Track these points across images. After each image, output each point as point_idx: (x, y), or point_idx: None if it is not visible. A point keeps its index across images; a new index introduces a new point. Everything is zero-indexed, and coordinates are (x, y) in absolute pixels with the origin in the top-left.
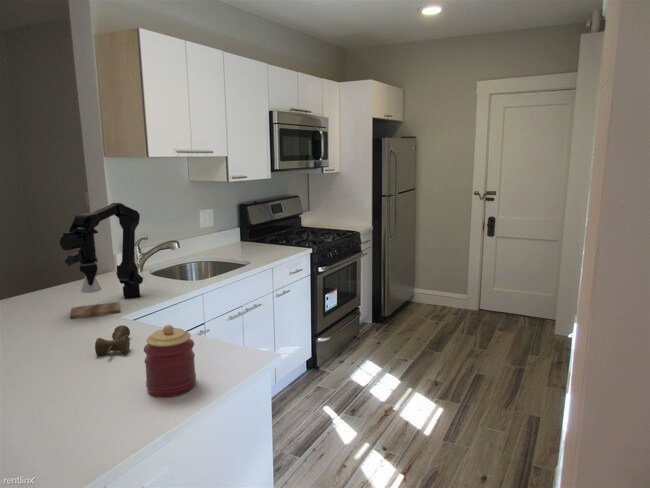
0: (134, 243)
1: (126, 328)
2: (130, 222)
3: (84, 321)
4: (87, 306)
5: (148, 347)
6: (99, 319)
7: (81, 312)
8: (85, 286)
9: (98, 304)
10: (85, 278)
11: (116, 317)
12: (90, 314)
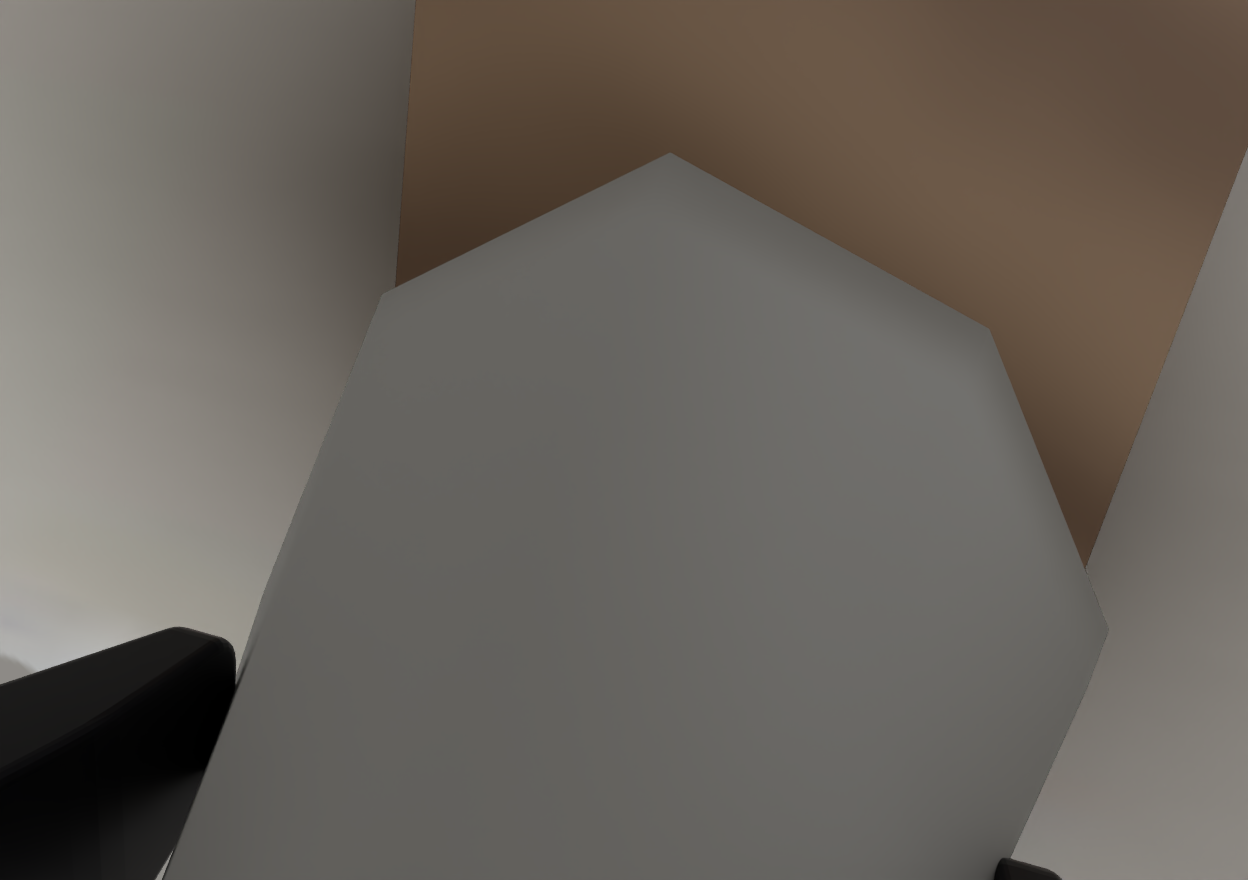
0: None
1: None
2: None
3: (145, 16)
4: (1102, 273)
5: None
6: (154, 305)
7: (610, 33)
8: (363, 446)
9: (1083, 538)
10: (330, 833)
11: (147, 569)
12: (407, 205)
